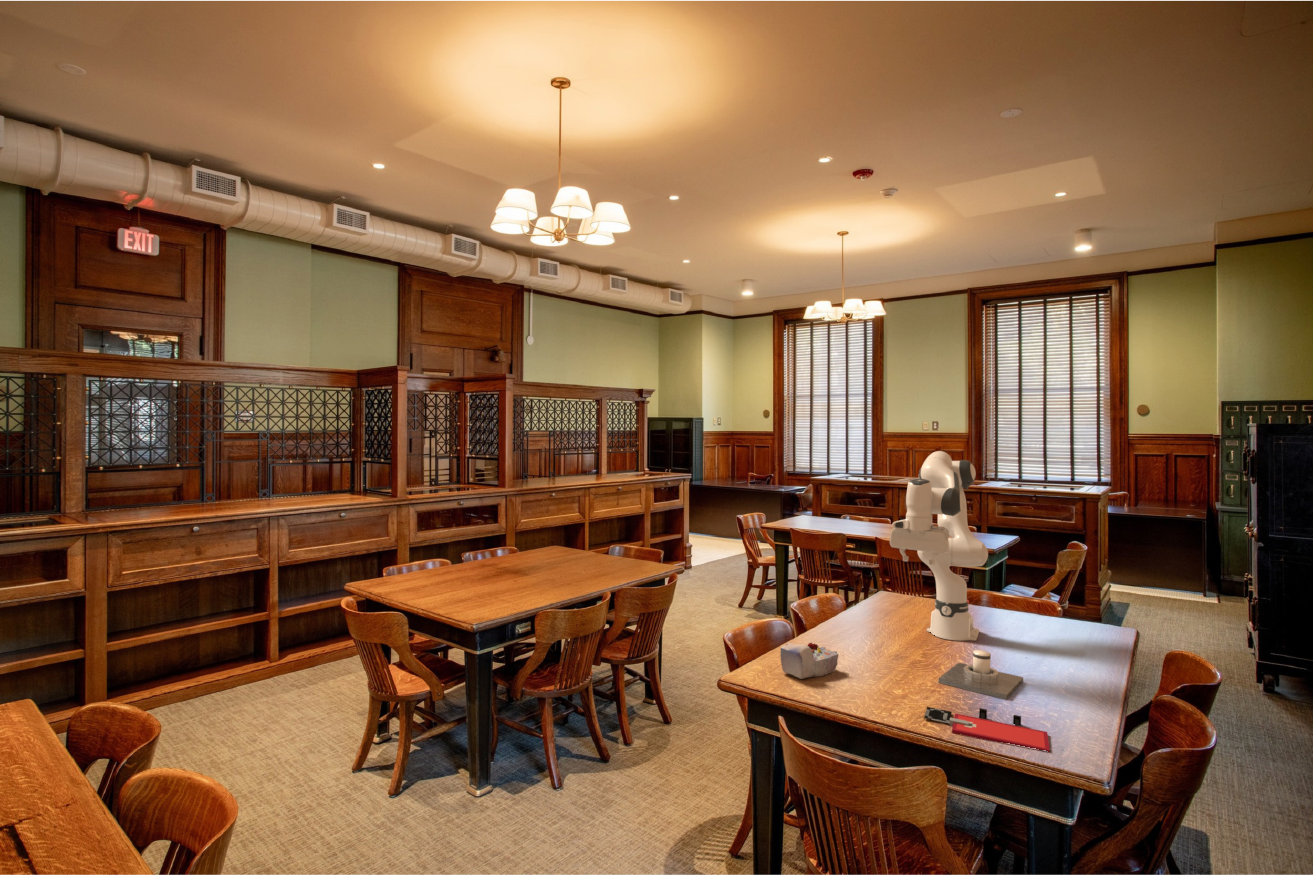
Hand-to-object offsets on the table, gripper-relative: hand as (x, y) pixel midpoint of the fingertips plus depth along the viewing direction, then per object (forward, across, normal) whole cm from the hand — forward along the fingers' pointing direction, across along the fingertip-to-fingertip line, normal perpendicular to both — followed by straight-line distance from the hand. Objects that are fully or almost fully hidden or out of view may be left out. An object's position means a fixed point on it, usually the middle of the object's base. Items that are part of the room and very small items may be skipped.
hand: (918, 562), depth 236 cm
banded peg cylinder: (+33, -24, +10) cm, 42 cm away
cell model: (+34, +21, +40) cm, 57 cm away
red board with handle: (+35, -35, +45) cm, 67 cm away
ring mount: (+34, -24, +10) cm, 43 cm away
